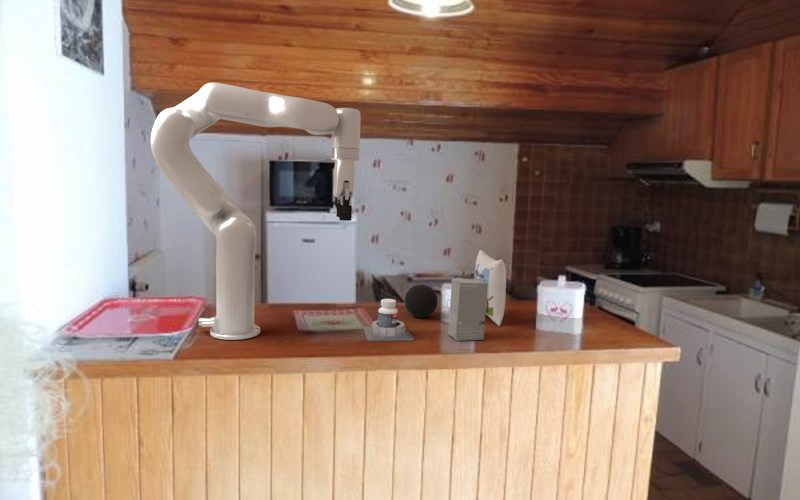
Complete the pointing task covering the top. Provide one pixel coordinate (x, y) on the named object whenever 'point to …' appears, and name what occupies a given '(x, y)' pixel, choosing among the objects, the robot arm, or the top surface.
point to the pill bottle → (388, 313)
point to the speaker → (421, 301)
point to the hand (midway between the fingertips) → (343, 218)
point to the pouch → (492, 284)
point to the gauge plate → (388, 332)
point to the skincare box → (467, 309)
